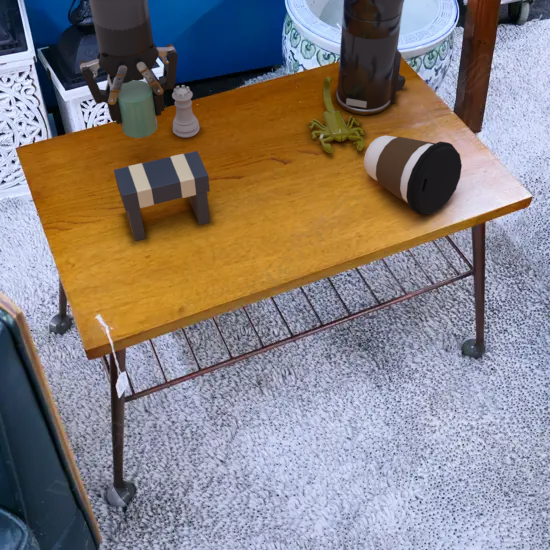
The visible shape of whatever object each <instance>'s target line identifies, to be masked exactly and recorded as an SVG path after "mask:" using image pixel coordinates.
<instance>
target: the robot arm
mask: <svg viewBox="0 0 550 550" xmlns="http://www.w3.org/2000/svg"><path fill="white" fill-rule="evenodd" d="M404 3H405V0H343V2H342V4H343V5H342V18H341V19H342V20H341V32H340V33H341V34H340V48H339V62H338V75H337V87H336V97H335V99H336V102H337V104H338V106H340V107H341V109H343V110H345V111H347V112H349V113H352V114H355V115H361V116H370V115H377V114H379V113H382V112H384V111H385V110H387V109H388V108H389V106H391V105H394V104H395V103H396V99H397V92H401V91H403V88H404V86H405V84H406V78H405V76H404V75H402V74H401V73H400V70H401V63H402V53H401V51H400V50H399V49H398V48H399V40H400V33H401V24H402V16H403V8H404ZM89 5H90V6H89V11H90V13H91V16H92V21H93V26H94V31H95V35H96V42H97V46H98V53H97V56H96V58H95V59H93V60H90V61H87V60H85V59H82V60H80V61H79V62H78V66H79V69H80V72H81V75H82V77H83V79H84V82H85V83H86V86H87V88H88V90H89V92H90V94H91V97H92V99H93V101H94V103H95V104H97V105H99V104H103V103H104V104H105V103H106V105H107V109H108V110H107V111H108V114H109V117H110V119H111V121H112V122H115V123H116V125H121V124H122V121H121V116H120V111H119V106H118V102H117V98H118V94H119V92H120V91H121V88H122V84H123V83H128V82H130V81H133V80H139V81H144V80H145V82H147V83H148V84H149V85H150V86H151V88H152V89H153V96H154V103H155V110H156V117H160V116H162V112H165V109H166V107H165V99H164V92H165V91H167V90H174V88H176V79H177V70H178V60H179V59H178V58H179V55H178V52H177V50H176V48H175V46H174V45H173V44H172V43H167V44H166V45H165V47H163V46H162V47H161V46H156V44H155V43H154V35H153V29H152V22H151V14H150V6H149V0H89ZM158 58H160V59H161V61H162V63H163V72H162V77H160V78H158V76H157V75H156V74H155V72H154V71H153V67H154V65H155V63H156V62H157V60H158ZM99 69H101V70H103V71H104V72H105V73H106V74H107V77H106V78H107V79H106V81H107V82H106V86H105V89H101V88H100V87H99V84H98V83H97V80H96V78H97V77H98V75H99V73H98V71H99Z"/></svg>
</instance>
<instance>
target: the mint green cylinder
mask: <svg viewBox="0 0 550 550" xmlns="http://www.w3.org/2000/svg"><path fill="white" fill-rule="evenodd" d="M117 102H118V106H119V111H120V116H121V121H122V124H120V128H121V131H122V133H123V134H124V135H125V136H127V137H128V138H129V137H130V138H132V139H141V138H142V139H143V138H146V137H149V136H151V135H153V134H154V133H155V132H156V131H157V130H158V127H159V125H158V118H157V117H158V116H156V110H155V103H154V96H153V89H152V88H151V86H150V85H149V84H148V83H147V81H144V80H133V81H130V82H128V83H123V84H122V88H121V91H120V92H119V94H118V98H117Z"/></svg>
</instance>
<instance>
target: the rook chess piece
mask: <svg viewBox="0 0 550 550" xmlns="http://www.w3.org/2000/svg"><path fill="white" fill-rule="evenodd" d="M193 95H194V93H193V91H191V89H190V87H189V86H186V85H185V84H182V85H181V87H180V85H176V86H175V87H174V88H173V92H172V94H171V97H172V99H173V100H175V101H174V103H173V104H174V106H175V107H176V108H175V116H174V119H173V121H172V132H173V133H174V134H175V135H176V136H177V137H179V138H182V139H189V138H193V137H194V136H196V135H197V134H198V133H199V132H200V129H201V126H200V123H199V119H198V118H197V117H196V115H195V114H194V112H193V108H192V104H193V101H192V100H191V99H192V98H193Z"/></svg>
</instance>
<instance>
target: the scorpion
mask: <svg viewBox="0 0 550 550" xmlns="http://www.w3.org/2000/svg"><path fill="white" fill-rule="evenodd" d="M332 82H333V77H332V76H327V77H326V78H324V79H323V83H322V98H323V104H324V107H325V110H326V111H324V112H323V114H322V119H323V122H324V125H323V124H322V123H321V122H320V121H319V120H318V119H316V118H312V120H311V121H309V124H310V125H309V126H308V129H309V130H311V134H310V135H311V139H312V140H316V139H317V136H319V138H318V141H319V142H320V144H321V145H320V146H321V149H322V150H323V151H324V152H327V153H328V154H334V153H335V149H334V147H332V145H331V143H328V142H333V141H337V142H344V141H346V140H349V141H350V140H353V143H352V146H356V151H358V152H362V151H363V149H364V148H365V140H364V138H363V136H365V132H364V129H363V128H362V127H359V126H360V121H358V122H357V121H356V117H353V116H352V115H350V116H349V118H348V123H347V124H346V121H345V119H344V117H343V114H342V111H340V110H335V107H334V105H333V101H332V97H331V83H332ZM350 122H351V123H350ZM353 125H355V126H356V127H353ZM314 128H318V130H313V129H314ZM354 140H355V141H354Z"/></svg>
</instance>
